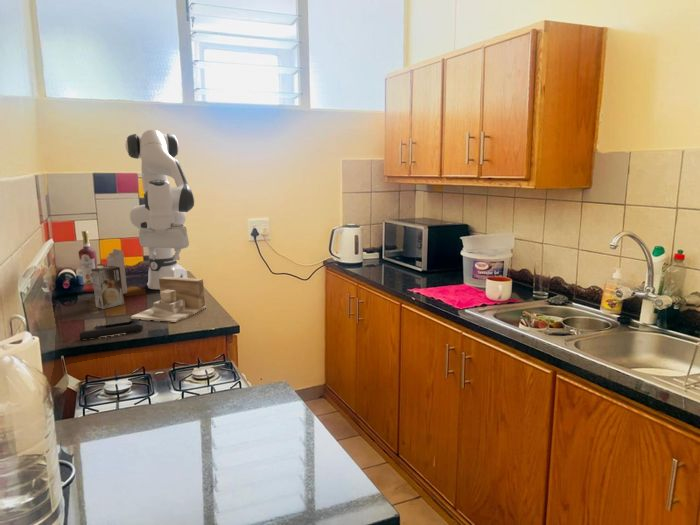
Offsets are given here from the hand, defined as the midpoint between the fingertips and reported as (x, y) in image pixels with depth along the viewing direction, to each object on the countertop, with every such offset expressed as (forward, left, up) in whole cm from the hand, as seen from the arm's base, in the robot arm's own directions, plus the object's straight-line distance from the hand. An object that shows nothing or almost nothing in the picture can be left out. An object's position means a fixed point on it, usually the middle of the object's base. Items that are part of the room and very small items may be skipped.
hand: (165, 259), depth 204 cm
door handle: (+24, -7, -22) cm, 34 cm away
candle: (-18, -44, -22) cm, 52 cm away
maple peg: (0, 0, -21) cm, 21 cm away
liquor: (-21, -59, -22) cm, 66 cm away
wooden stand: (0, 0, -22) cm, 22 cm away
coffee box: (-3, -32, -22) cm, 39 cm away
